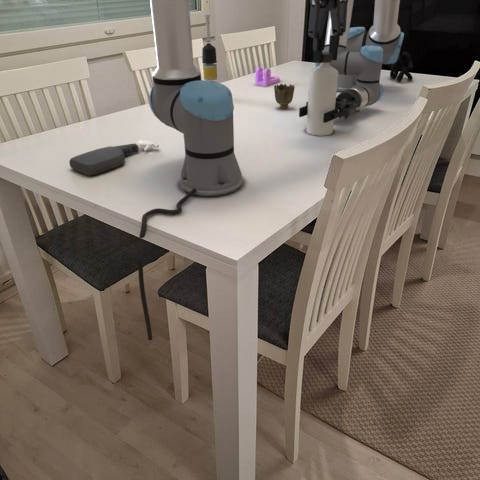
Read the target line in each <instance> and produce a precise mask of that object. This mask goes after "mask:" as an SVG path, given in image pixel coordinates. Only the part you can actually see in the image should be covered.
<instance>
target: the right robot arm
mask: <svg viewBox="0 0 480 480" xmlns="http://www.w3.org/2000/svg"><path fill="white" fill-rule="evenodd" d="M354 2H355V0H348V4H347V19H346V31H345V33H343V36H340V40H339V47H338V53H337V60H332V62H329V65H331V66H332V67H333V68H335V69H336V70H337V71H338V82H337V92H339V94H338V95H337V96H336V103H335V109H334V110H332V111H329V112H327V113H324V119H323V122H324V123H326V122H329V121H331V120H334V121H335V120H337V119H342V118H344V119H347V120H348V119H349V118H351V117H352V116H353V115H355V114H357V113H359V112H360V110H361V109H363V108H366V107H369V106H372V105H374V104H376V103H377V102H379V101H380V100H381V99H382V97H383V94H384V89H383V86H382V84H381V83H380V81H381V80H380V79H381V72H382V68H383V65H387V64H393V63H395V62H396V61H397V59H398V56H400V52H401V48H402V45H403V40H404V38H405V37H404V36H405V33H404V32H403V31H401V27H400V25H399V24H398V18H399V10H400V2H401V0H374V9H373V10H374V11H373V24H372V25H371V27H370V28H369V30H367V31H366V27H364V26H353V27H351V21H352V14H353V8H354ZM327 17H328V18H327V25H326V33H325V39H324V46H323V51H322V52H329V44H330V36H331V35H333V34H332V25H331V16H330V11H329V12H328V16H327ZM341 28H342V27H341ZM319 65H320V63H315V67H317V66H319ZM307 112H308V101H306V102H305V105H303V106H301V107H299V109H298V117H299V118H303V117H305V116H307Z"/></svg>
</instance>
